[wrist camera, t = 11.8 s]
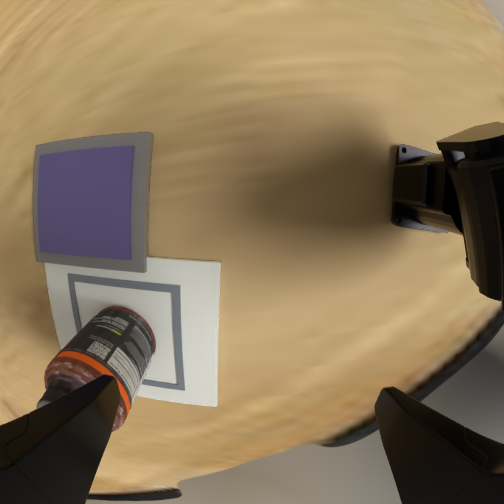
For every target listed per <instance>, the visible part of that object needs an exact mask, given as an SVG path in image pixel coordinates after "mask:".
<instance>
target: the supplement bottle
mask: <svg viewBox="0 0 504 504" xmlns="http://www.w3.org/2000/svg"><path fill="white" fill-rule="evenodd" d="M155 351H156V339H155V336H154V333H153V331H152V329H151V327H150V326H149V324H148V323H147V322H146V320H145V319H144V318H143V317H141V316H140V315H139V314H137V313H136V312H134V311H133V310H130V309H128V308H125V307H121V306H111V307H107V308H105V309H103V310H101V311H100V312H99V313H98V314H97V315H96V316H94V317H93V318H92V319H91V320H90V321H89V322H88V323H87V324H86V325H85V326H84V327H83V328H82V329H81V330H80V331H79V332H78V333H77V334H76V335H75V336H74V337H73V338H72V339H71V340H70V341H69V342H68V343H67V345H66V346H65V347H64V348H63V349H62V350H61V351H60V352H59V353H58V354H57V355H56V356H55V357H54V358H53V359H52V361H51V362H50V363H49V365H48V366H47V368H46V371H45V376H44V380H45V388H46V390H47V391H46V392H45V393H44V395H43V397H42V398H41V399H40V400H39V402H38V403H37V409H38V408H40V407H42V406H44V405H46V404H48V403H50V402H52V401H54V400H56V399H58V398H60V397H62V396H64V395H66V394H68V393H69V392H71V391H73V390H75V389H77V388H79V387H81V386H83V385H85V384H87V383H88V382H90V381H92V380H94V379H96V378H98V377H100V376H101V375H104V374H107V375H111V376H115V377H116V379H117V382H118V386H119V390H120V394H121V399H120V403H119V407H118V410H117V414H116V417H115V421H114V425H113V429H112V432H113V431H115V430H117V429H119V428H120V427H121V426H122V425H123V423H124V421H125V420H126V417H127V415H128V413H129V410H130V409H131V407H132V404H133V402H134V400H135V397H136V395H137V393H138V391H139V388H140V386H141V384H142V381H143V379H144V377H145V375H146V373H147V371H148V368H149V366H150V364H151V362H152V359H153V356H154V354H155Z"/></svg>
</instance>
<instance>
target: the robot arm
mask: <svg viewBox="0 0 504 504" xmlns="http://www.w3.org/2000/svg"><path fill="white" fill-rule="evenodd" d="M436 143H437V145H438V148H439V150H441V152H442V154H434V153H431V152H428V151H425V150H422V149H419V148H415V147H412V146H409V145H405V144H401V145H398V147H397V152H396V167H395V170H394V185H393V209H392V218H391V221H392V223H393V224H394V225H396V226H401V227H408V228H415V229H422V230H429V231H436V232H443V233H448V232H453V233H456V234H460V235H463V237H464V243H465V250H466V256H467V257H466V266H467V267H468V268H469V269H470V274H471V278H472V280H473V281H474V282H475V284H476V285H477V286H478V287H479V292H480V293H481V294H483V295H485V296H487V297H489V298H491V299H494V300H498V301H502V309H503V310H504V123H501V122H493V123H488V124H484V125H479V126H475V127H472V128H469V129H467V130H464V131H462V132H459V133H457V134H454V135H452V136H449V137H447V138H444V139H442V140H439V141H437V142H436ZM402 148H403V149H404V153H403V152H402ZM397 217H399V221H398V222H397V221H396V219H397ZM120 399H121V394H120V390H119V386H118V382H117V379H116V377H115V376H111V375H107V374H104V375H101V376H100V377H98V378H96V379H94V380H92V381H90V382H88V383H87V384H85V385H83V386H81V387H79V388H77V389H75V390H73V391H71V392H69V393H68V394H66V395H64V396H62V397H60V398H58V399H56V400H54V401H52V402H50V403H48V404H46V405H44V406H42V407H40V408H38V409H36V410H34V411H32V412H30V413H29V414H26V415H24V416H22V417H19V418H17V419H15V420H13V421H10V422H8V423H5V424H3V425H0V504H85V502H86V499H87V497H88V494H89V491H90V488H91V485H92V482H93V480H94V477H95V474H96V471H97V469H98V466H99V464H100V461H101V458H102V456H103V453H104V451H105V448H106V446H107V443H108V441H109V438H110V435H111V432H112V429H113V425H114V421H115V417H116V414H117V410H118V407H119V403H120ZM375 414H376V418H377V422H378V426H379V431H380V435H381V439H382V443H383V446H384V449H385V452H386V455H387V458H388V461H389V464H390V467H391V470H392V473H393V476H394V479H395V482H396V486H397V489H398V492H399V495H400V499H401V502H402V504H504V444H502V443H500V442H497V441H494V440H492V439H489V438H487V437H485V436H482V435H480V434H478V433H476V432H474V431H472V430H470V429H468V428H466V427H464V426H463V425H461V424H459V423H457V422H455V421H453V420H451V419H450V418H448V417H446V416H444V415H442V414H440V413H439V412H437V411H435V410H433V409H431V408H430V407H428V406H426V405H424V404H423V403H421V402H419V401H417V400H416V399H414V398H412V397H411V396H409V395H407V394H405V393H404V392H402V391H400V390H399V389H397V388H395V387H385V388H383V389H382V390H381V392H380V394H379V396H378V399H377V401H376V403H375Z"/></svg>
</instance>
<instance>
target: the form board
mask: <svg viewBox="0 0 504 504" xmlns="http://www.w3.org/2000/svg"><path fill="white" fill-rule="evenodd" d="M44 265H45V274H46V281H47V288H48V294H49V299H50V305H51V310H52V315H53V320H54V324H55V328H56V333H57V337H58V341H59V344H60V348H61V350H62V349H63V348H64V347H65V346H66V345H67V343H68V342H69V341H70V340H71V339H72V338H73V337H74V336H75V335H76V334H77V333H78V332H79V331H80V330H81V329H82V328H83V327H84V326H85V325H86V324H87V323H88V322H89V321H90V320H91V319H92V318H93V317H94V316H96V315H97V314H98V313H99V312H100V311H101V310H103V309H105V308H107V307H111V306H121V307H125V308H128V309H130V310H133V311H134V312H136V313H137V314H139V315H140V316H141V317H143V318H144V319H145V320H146V322H147V323H148V324H149V326H150V327H151V329H152V331H153V333H154V336H155V339H156V351H155V354H154V356H153V359H152V362H151V364H150V366H149V368H148V371H147V373H146V375H145V377H144V379H143V381H142V384H141V386H140V388H139V391H138V393H137V395H136V396H140V397H145V398H151V399H157V400H163V401H170V402H177V403H184V404H193V405H202V406H214V407H217V393H218V330H219V298H220V273H221V261H207V260H192V259H178V258H164V257H150V256H148V257H147V271H146V272H145V273H138V272H127V271H117V270H107V269H97V268H88V267H79V266H70V265H61V264H53V263H45V262H44Z"/></svg>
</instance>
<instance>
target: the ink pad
mask: <svg viewBox="0 0 504 504" xmlns="http://www.w3.org/2000/svg"><path fill="white" fill-rule="evenodd" d="M153 136H154V134H152V133H150V132H138V133H123V134H111V135H101V136H91V137H83V138H76V139H69V140H62V141H56V142H51V143H45V144H40V145H36V153H35V165H34V183H33V223H34V241H35V253H36V261H37V262H45V263H53V264H61V265H70V266H79V267H88V268H97V269H107V270H117V271H127V272H138V273H145V272H146V271H147V257H148V215H149V188H150V171H151V158H152V146H153Z"/></svg>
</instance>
